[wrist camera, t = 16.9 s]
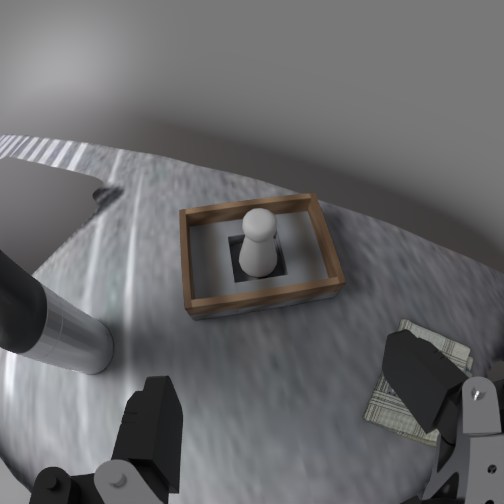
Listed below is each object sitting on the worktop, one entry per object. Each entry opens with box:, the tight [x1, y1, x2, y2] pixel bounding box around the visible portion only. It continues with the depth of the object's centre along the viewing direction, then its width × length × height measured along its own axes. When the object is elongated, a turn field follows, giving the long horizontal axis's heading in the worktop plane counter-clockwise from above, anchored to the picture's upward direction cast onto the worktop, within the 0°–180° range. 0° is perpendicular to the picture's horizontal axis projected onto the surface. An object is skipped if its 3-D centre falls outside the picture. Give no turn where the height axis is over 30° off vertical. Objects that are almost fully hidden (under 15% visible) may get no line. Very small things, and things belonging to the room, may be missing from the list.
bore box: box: [179, 193, 346, 320], centre depth 43 cm, size 22×16×6 cm
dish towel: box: [362, 319, 473, 446], centre depth 34 cm, size 19×18×3 cm
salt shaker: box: [239, 208, 277, 278], centre depth 40 cm, size 6×6×13 cm
